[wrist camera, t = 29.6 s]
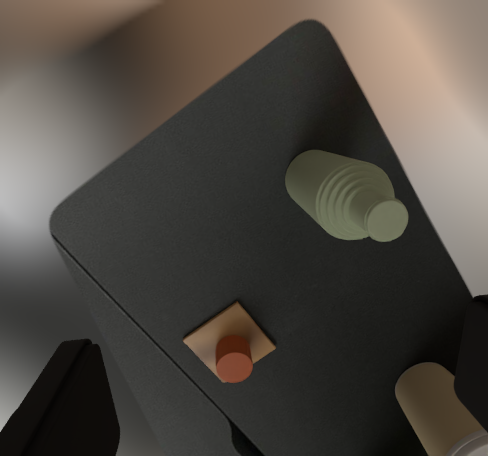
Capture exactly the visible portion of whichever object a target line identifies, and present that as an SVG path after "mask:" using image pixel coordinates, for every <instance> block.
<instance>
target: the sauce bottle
mask: <svg viewBox="0 0 488 456" xmlns="http://www.w3.org/2000/svg"><path fill="white" fill-rule="evenodd" d="M285 184H286V188H287V191H288V193H289V195H290V196H291V198H292V199H293V200H294V201H295V202H296V203H297V204H299V205H300V206H301V207H302V208H303V209H304V210H305V211H306V212H307V213H308V214H309V215H310V216H311V217H312V218H313V219H314V220H315V221H316V222H317V223H318V224H319V225H320V226H321V227H323V228H324V229H325V230H326V231H327V232H328V233H329V234H331V235H332V236H334V237H337V238H339V239H344V240H356V239H362V238H365V237H368V236H370V237H371V238H372V239H375V240H377V241H382V242H385V241H391V240H393V239H396V238H397V237H399V236H400V235H401V234H402V233H403V232H404V229H405V228H406V226H407V223H408V212H407V210H406V208H405V206H404V205H403V203H402V202H400V201H399V200H398V199H396V198H394V190H393V187H392V184H391V182H390V180H389V178H388V176H387V175H386V173H385V172H384V171H383V170H382V169H380V168H379V167H377V166H376V165H374V164H371V163H368V162H364V161H360V160H356V159H352V158H348V157H345V156H341V155H337V154H333V153H329V152H325V151H321V150H309V151H306V152H303V153H301V154H300V155H298V156H297V157H296V158H295V159H294V160H293V161H292V162H291V163H290V165H289V167H288V169H287V172H286V177H285Z"/></svg>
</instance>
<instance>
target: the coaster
mask: <svg viewBox="0 0 488 456" xmlns="http://www.w3.org/2000/svg"><path fill="white" fill-rule="evenodd" d="M230 335H237V336H241V337H243V338H244V339H246V341H247V342H248V344H249V346H250V350H251V356H252V362H253V363H255V362H256V361H258V360H259V359H261V358H262V357H264V356H265V355H267V354H268V353H270V352H271V351H273V350H274V349H276V347H275V345H274V344H273V343H272V341H271V340H270V339H269V338H268V337H267V336H266V334H265V333H264V332H263V331H262V330H261V328H260V327H259V326H258V325H257V324H256V322H255V321H254V320H253V319H252V318H251V317H250V315H249V314H248V313H247V312H246V311H245V309H244V308H243V307H242V306H241V305H240V303H239V302H238V301H237V302H235V303H234V304H232V305H231V306H229V307H228V308H226V309H225V310H224V311H222V312H221V313H219V314H218V315H216V316H215V317H213V318H212V319H210V320H209V321H208V322H206V323H205V324H203V325H202V326H200V327H199V328H197V329H196V330H194V331H193V332H191V333H190V334H189V335H187V336H186V337H184V338H183V341H184V342H185V343H186V344H187V345H188V347H189V348H190V349H191V350H192V351H193V352H194V353H195V354H196V355H197V356H198V357H199V358H200V359H201V360H202V361H203V362H204V363H205V364H206V365H207V366H208V367H209V368H210V369H211V371H212V372H213V373H214V374H215V375H216V376H217V377H218V378H219V379H220V380H221V381H222V382H223V383H224V382H226V381H224V380H223V379H221V378H220V377H219V376H218V374H217V371H216V353H215V351H216V347H217V344H218V343H219V342H220V340H222V339H223V338H225V337H227V336H230ZM253 363H252V364H253Z"/></svg>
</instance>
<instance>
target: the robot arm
mask: <svg viewBox="0 0 488 456" xmlns="http://www.w3.org/2000/svg"><path fill="white" fill-rule="evenodd" d="M454 391H455V394H456V396H457V398H458V399H459V400H460V402H461V403H462V404H463V405H464V406H465V407H466V409H467V410H468V411H469V412H470V413H471V414H472V415H473V417H474V418H475V419H476V420H477V421H478V422H479V424H480V425H481V426H482V427H483V428H484V429H485V430H486V432H487V433H488V295H479V296H476V297H474V298H473V299H472V301H471V303H469V304H468V305H467V308H466V314H465V320H464V326H463V332H462V337H461V343H460V349H459V355H458V361H457V367H456V372H455V378H454ZM119 439H120V427H119V423H118V419H117V415H116V411H115V407H114V403H113V399H112V394H111V390H110V386H109V382H108V378H107V375H106V370H105V366H104V362H103V358H102V354H101V350H100V347H99V345H98V344H92V342H91V340H89V339H81V340H71V341H64V342H62V343H61V344H60V346H59V347H58V348H57V350H56V351H55V353H54V354H53V356H52V357H51V359H50V360H49V362H48V363H47V365H46V366H45V368H44V369H43V371H42V373H41V374H40V376H39V377H38V379H37V380H36V382H35V383H34V385H33V386H32V388H31V389H30V391H29V392H28V394H27V395H26V397H25V398H24V400H23V401H22V403H21V404H20V406H19V407H18V409H17V410H16V411H15V412H14V413H13V414H12V416H11V417H10V418H9V420H8V421H7V423H6V424H5V426H4V427H3V429H2V430H1V432H0V456H116V452H117V449H118V445H119Z"/></svg>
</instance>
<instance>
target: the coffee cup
mask: <svg viewBox="0 0 488 456" xmlns="http://www.w3.org/2000/svg"><path fill="white" fill-rule="evenodd" d="M454 378H455V377H454V376H453V375H452V374H451V373H450V372H449V371H448V370H447V369H445V368H444V367H443V366H441V365H439V364H437V363H432V362H425V363H420V364H416V365H414V366H412V367H410V368H409V369H407V370H406V371H405V372H404V373H403V374H402V375H401V376H400V378H399V379H398V381H397V383H396V386H395V394H396V398H397V400H398V402H399V404H400V406H401V408H402V409H403V411H404V413H405V415H406V417H407V418H408V420H409V422H410V424H411V425H412V427H413V429H414V431H415V432H416V434H417V436H418V438H419V439H420V441H421V443H422V445H423V447H424V448H425V450H426V452H427V454H428V455H429V456H488V433H487V432H486V430H485V429H484V428H483V427H482V426H481V425H480V424H479V422H478V421H477V420H476V419H475V418H474V417H473V415H472V414H471V413H470V412H469V411H468V410H467V409H466V407H465V406H464V405H463V404H462V403H461V402H460V400H459V399H458V398H457V396H456V394H455V391H454Z"/></svg>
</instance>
